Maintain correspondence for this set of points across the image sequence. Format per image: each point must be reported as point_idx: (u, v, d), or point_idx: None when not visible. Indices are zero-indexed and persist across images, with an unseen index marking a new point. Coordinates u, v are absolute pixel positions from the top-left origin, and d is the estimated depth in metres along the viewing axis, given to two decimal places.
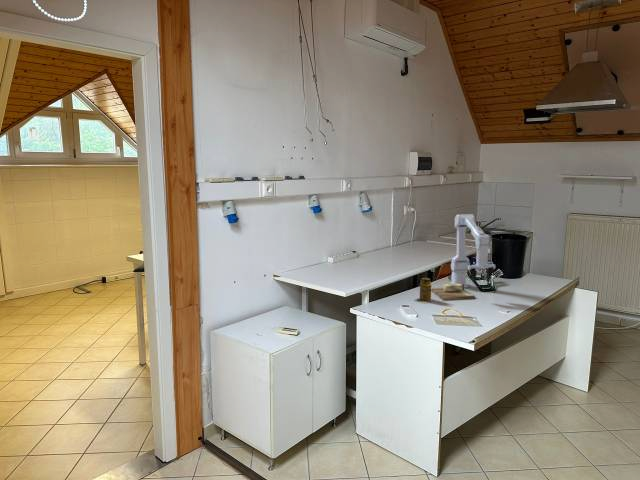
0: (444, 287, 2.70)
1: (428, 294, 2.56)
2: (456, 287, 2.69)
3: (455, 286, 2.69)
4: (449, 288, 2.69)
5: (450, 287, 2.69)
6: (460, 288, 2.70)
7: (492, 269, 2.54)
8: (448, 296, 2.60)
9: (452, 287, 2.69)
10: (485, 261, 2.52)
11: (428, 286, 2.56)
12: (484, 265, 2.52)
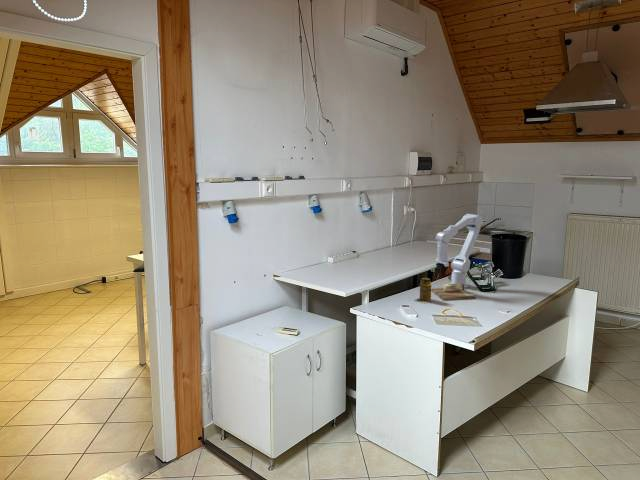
0: (444, 287, 2.70)
1: (428, 294, 2.56)
2: (456, 287, 2.69)
3: (455, 286, 2.69)
4: (449, 288, 2.69)
5: (450, 287, 2.69)
6: (460, 288, 2.70)
7: (440, 265, 2.72)
8: (448, 296, 2.60)
9: (452, 287, 2.69)
10: (438, 256, 2.73)
11: (428, 286, 2.56)
12: (437, 259, 2.74)
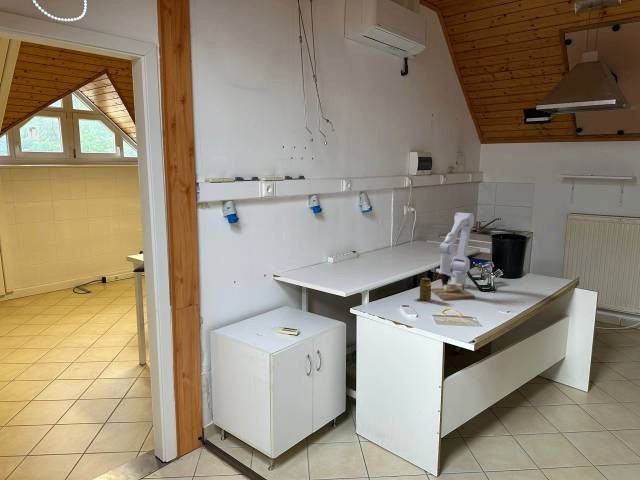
0: (444, 287, 2.69)
1: (428, 294, 2.56)
2: (456, 287, 2.69)
3: (455, 286, 2.69)
4: (450, 288, 2.68)
5: (451, 287, 2.68)
6: (460, 288, 2.70)
7: (444, 275, 2.69)
8: (448, 296, 2.60)
9: (452, 287, 2.69)
10: (442, 267, 2.68)
11: (428, 286, 2.56)
12: (441, 271, 2.69)
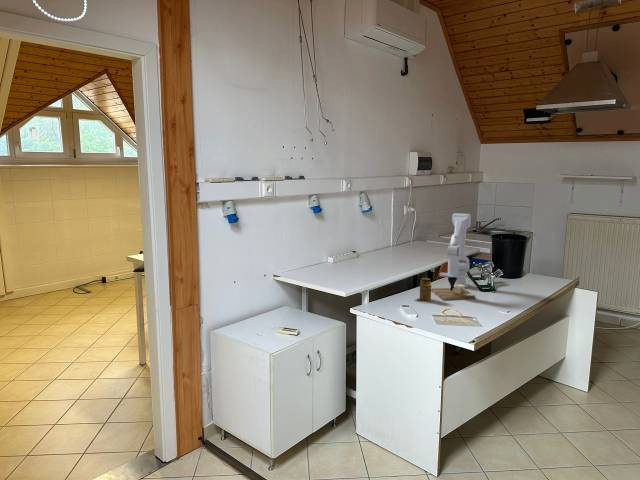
0: (456, 290, 2.63)
1: (428, 294, 2.56)
2: (462, 288, 2.67)
3: (462, 287, 2.67)
4: (460, 290, 2.64)
5: (460, 289, 2.64)
6: (464, 288, 2.69)
7: (453, 279, 2.62)
8: (448, 296, 2.60)
9: (461, 289, 2.65)
10: (452, 270, 2.61)
11: (428, 286, 2.56)
12: (451, 274, 2.61)
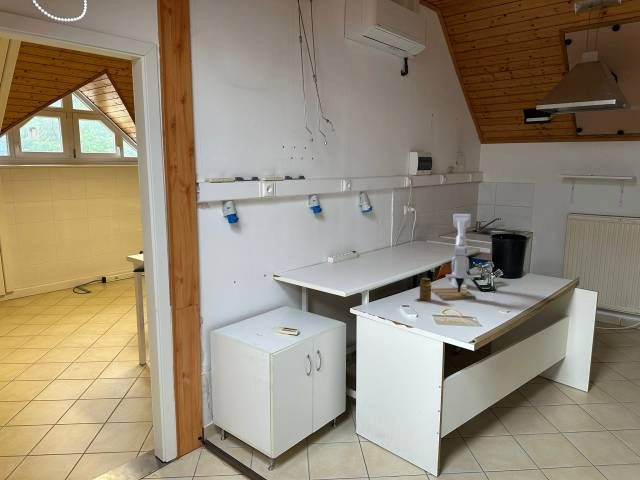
0: (463, 291, 2.61)
1: (428, 294, 2.56)
2: None
3: None
4: None
5: None
6: None
7: (462, 279, 2.60)
8: (448, 296, 2.60)
9: None
10: (461, 271, 2.58)
11: (428, 286, 2.56)
12: (460, 275, 2.59)
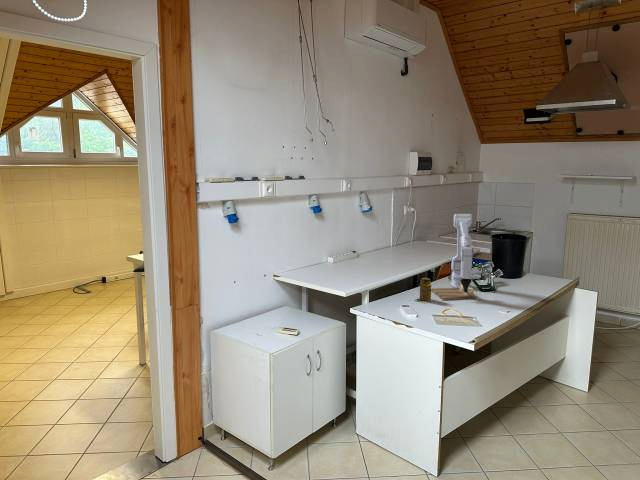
0: (471, 291, 2.61)
1: (428, 294, 2.56)
2: None
3: None
4: None
5: None
6: None
7: (469, 280, 2.59)
8: (448, 296, 2.60)
9: None
10: (469, 272, 2.57)
11: (428, 286, 2.56)
12: (468, 276, 2.58)
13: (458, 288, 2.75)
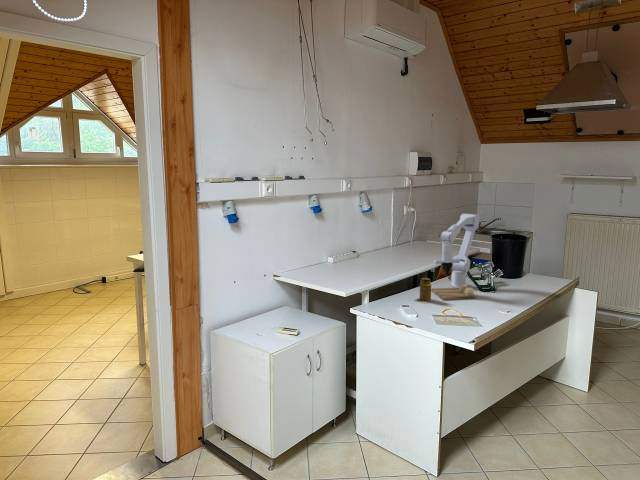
0: (471, 291, 2.61)
1: (428, 294, 2.56)
2: None
3: None
4: None
5: None
6: None
7: (451, 264, 2.71)
8: (448, 296, 2.60)
9: None
10: (450, 256, 2.69)
11: (428, 286, 2.56)
12: (449, 260, 2.69)
13: (458, 288, 2.75)
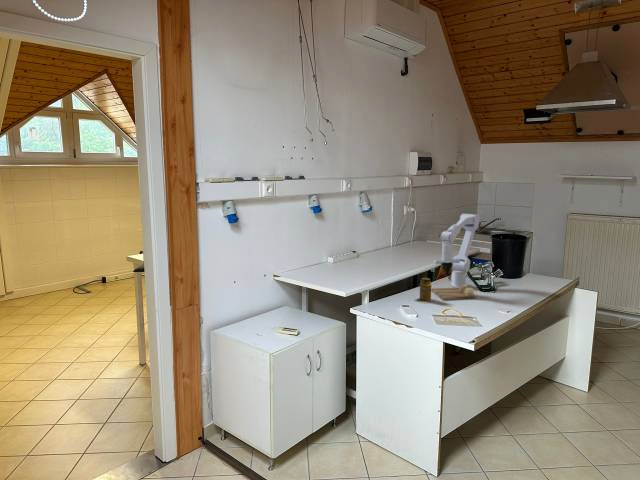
0: (471, 291, 2.61)
1: (428, 294, 2.56)
2: None
3: None
4: None
5: None
6: None
7: (451, 264, 2.71)
8: (448, 296, 2.60)
9: None
10: (450, 256, 2.69)
11: (428, 286, 2.56)
12: (449, 260, 2.69)
13: (458, 288, 2.75)
